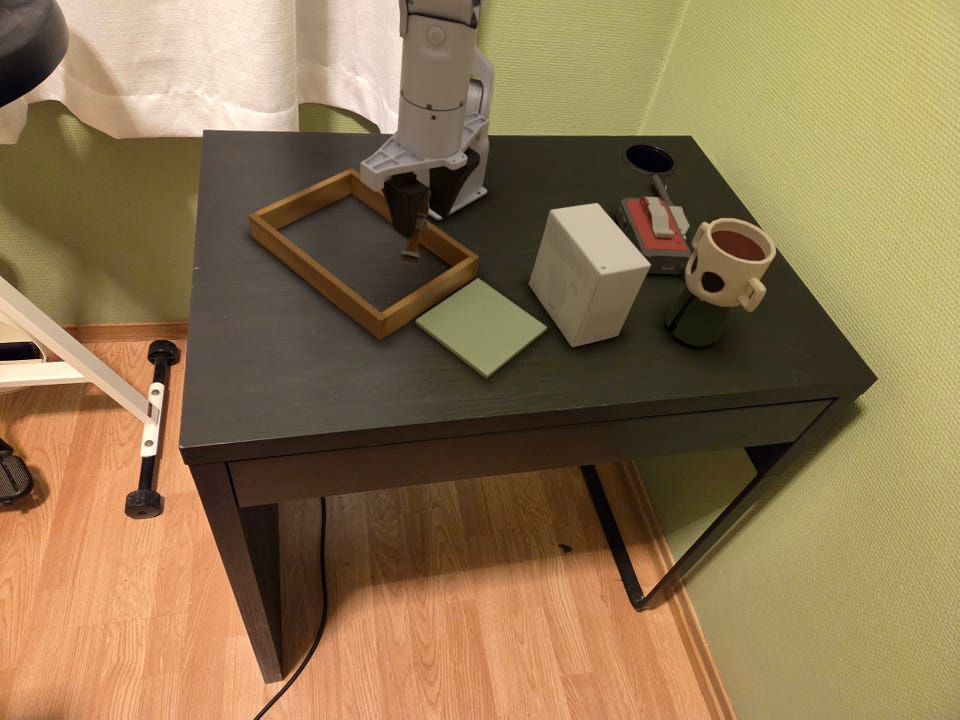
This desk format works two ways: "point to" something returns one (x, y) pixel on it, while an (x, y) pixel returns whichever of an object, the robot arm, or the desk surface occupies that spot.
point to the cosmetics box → (587, 273)
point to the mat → (481, 327)
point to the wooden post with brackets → (417, 233)
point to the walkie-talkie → (656, 230)
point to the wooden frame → (330, 286)
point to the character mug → (720, 278)
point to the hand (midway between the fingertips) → (420, 222)
